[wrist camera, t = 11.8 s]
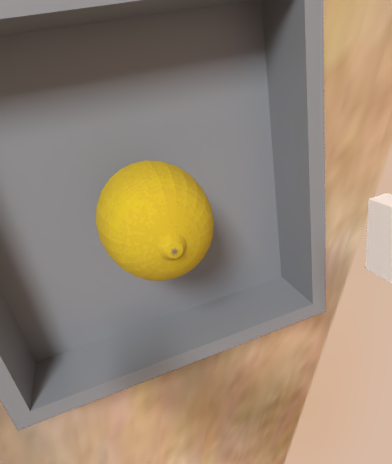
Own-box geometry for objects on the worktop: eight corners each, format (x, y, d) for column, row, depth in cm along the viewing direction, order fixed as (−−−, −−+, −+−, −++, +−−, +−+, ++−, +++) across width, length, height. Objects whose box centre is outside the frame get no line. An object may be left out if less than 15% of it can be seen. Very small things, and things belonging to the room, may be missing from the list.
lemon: (90, 147, 19) (102, 181, 12) (188, 151, 21) (248, 183, 14) (92, 241, 21) (103, 319, 14) (181, 238, 23) (230, 305, 16)
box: (26, 372, 23) (17, 430, 19) (-148, 31, 15) (-227, 10, 11) (289, 279, 28) (325, 311, 24) (270, -23, 19) (322, -52, 15)
